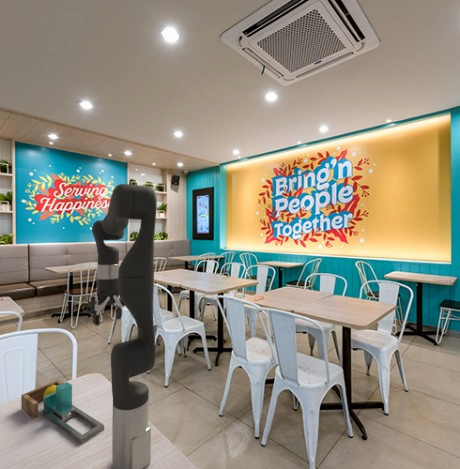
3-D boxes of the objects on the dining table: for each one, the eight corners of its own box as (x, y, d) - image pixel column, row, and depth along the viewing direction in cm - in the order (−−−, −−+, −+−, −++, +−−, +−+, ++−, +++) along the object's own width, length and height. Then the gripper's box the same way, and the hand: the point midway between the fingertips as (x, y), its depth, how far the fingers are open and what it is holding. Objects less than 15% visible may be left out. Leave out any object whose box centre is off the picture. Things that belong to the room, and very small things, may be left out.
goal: (71, 400, 106) (71, 387, 106) (34, 419, 96) (34, 404, 96) (58, 392, 111) (58, 379, 111) (21, 409, 101) (21, 395, 101)
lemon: (52, 413, 98) (51, 389, 98) (39, 411, 100) (38, 388, 100) (65, 404, 104) (64, 381, 104) (53, 403, 105) (52, 380, 105)
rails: (104, 429, 91) (104, 425, 91) (81, 444, 85) (81, 439, 85) (64, 404, 104) (64, 399, 104) (42, 415, 98) (42, 410, 98)
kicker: (81, 412, 99) (81, 383, 99) (56, 426, 92) (56, 394, 92) (67, 404, 103) (68, 376, 103) (43, 416, 97) (43, 386, 97)
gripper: (95, 280, 95) (95, 329, 95) (131, 275, 107) (131, 318, 107) (82, 278, 99) (82, 325, 99) (118, 273, 111) (118, 315, 111)
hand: (108, 321), depth 103 cm, fingers open, 8 cm apart
